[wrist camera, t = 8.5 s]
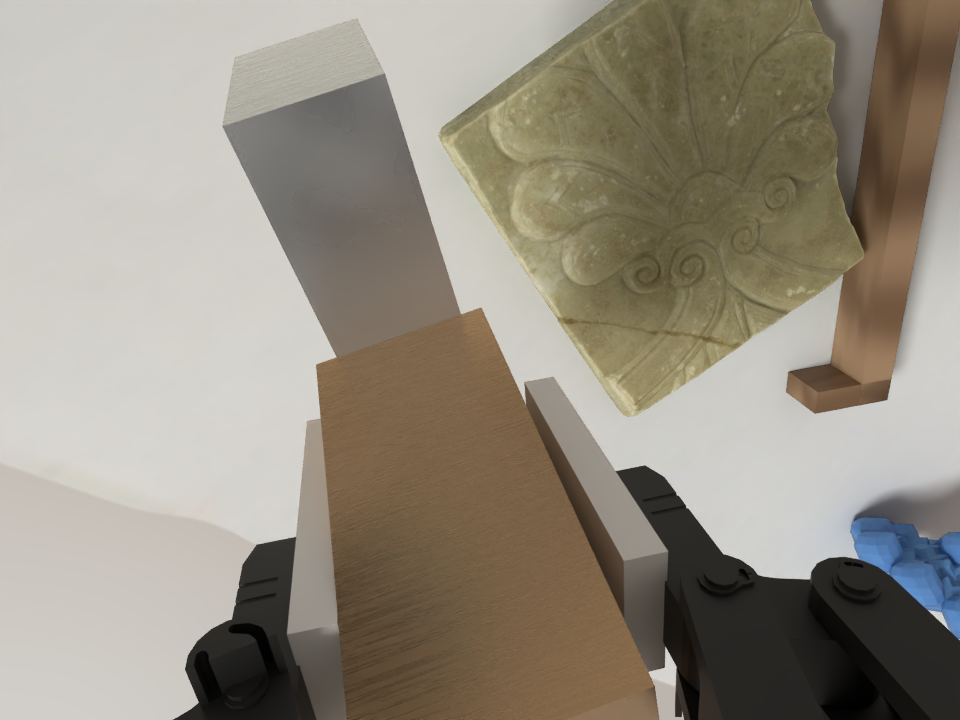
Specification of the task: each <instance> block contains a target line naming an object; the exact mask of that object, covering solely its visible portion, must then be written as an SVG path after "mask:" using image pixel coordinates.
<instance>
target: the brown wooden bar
mask: <svg viewBox="0 0 960 720" xmlns="http://www.w3.org/2000/svg"><path fill="white" fill-rule="evenodd" d="M959 26H960V0H884V3H883V10H882V17H881V23H880V30H879V37H878V44H877V51H876V57H875V64H874V71H873V78H872V85H871V91H870V98H869V105H868V112H867V119H866V125H865V132H864V139H863V146H862V153H861V159H860V166H859V173H858V180H857V187H856V193H855V200H854V207H853V214H852V221H851V224H852V226H853V227H854V229H855V232H856V234H857V236H858V238H859V241H860V244H861V246H862V248H863V251H864V258H863V259H862V260H861V261H859V262H858V263H857V264H855V265H854V266H853V267H852V268H850V269H849V270H848V271H846V272H845V273H844V275H843V282H842V289H841V296H840V302H839V309H838V316H837V323H836V330H835V336H834V343H833V350H832V357H831V364H829V365H824V366H818V367H813V368H807V369H802V370H796V371H791V372H788V381H787V389H786V392H787V393H788V394H790V395H791V396H792V397H794V398H795V399H796V400H798V401H799V402H800V403H802V404H803V405H804V406H805V407H807V408H808V409H809V410H811V411H812V412H813V413H815V414H816V413H821V412H826V411H832V410H837V409H842V408H847V407H853V406H858V405H863V404H868V403H874V402H879V401H884V400H887V399H888V393H889V388H890V383H891V378H892V373H893V368H894V362H895V357H896V352H897V347H898V342H899V336H900V331H901V326H902V321H903V316H904V311H905V305H906V300H907V295H908V290H909V285H910V279H911V274H912V269H913V264H914V259H915V254H916V248H917V243H918V238H919V233H920V228H921V222H922V217H923V212H924V207H925V202H926V197H927V191H928V186H929V181H930V176H931V171H932V165H933V160H934V155H935V150H936V145H937V140H938V134H939V129H940V124H941V119H942V114H943V108H944V103H945V98H946V93H947V88H948V83H949V77H950V72H951V67H952V62H953V57H954V51H955V46H956V41H957V36H958V31H959Z"/></svg>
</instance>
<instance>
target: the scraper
mask: <svg viewBox="0 0 960 720" xmlns="http://www.w3.org/2000/svg"><path fill="white" fill-rule="evenodd" d="M223 128H224V130H225V132H226V134H227V136H228V139H229V141H230V143H231V145H232V147H233V149H234V151H235V153H236V155H237V157H238V159H239V161H240V163H241V165H242V167H243V169H244V171H245V173H246V175H247V177H248V179H249V181H250V183H251V185H252V187H253V189H254V191H255V193H256V195H257V197H258V199H259V201H260V203H261V205H262V207H263V209H264V211H265V213H266V215H267V217H268V219H269V221H270V223H271V225H272V227H273V229H274V231H275V233H276V235H277V237H278V239H279V241H280V243H281V245H282V248H283V250H284V252H285V254H286V256H287V258H288V260H289V262H290V264H291V266H292V268H293V270H294V272H295V274H296V276H297V278H298V280H299V282H300V284H301V286H302V288H303V290H304V292H305V294H306V296H307V298H308V300H309V302H310V304H311V306H312V308H313V310H314V312H315V314H316V316H317V318H318V320H319V322H320V324H321V326H322V328H323V330H324V332H325V334H326V336H327V338H328V340H329V342H330V344H331V346H332V348H333V350H334V352H335V354H336V356H337V358H334V359H331V360H328V361H325V362H322V363H320V364H317V365H316V369H317V381H318V392H319V404H320V415H321V427H322V438H323V450H324V462H325V473H326V485H327V496H328V508H329V520H330V531H331V543H332V554H333V566H334V577H335V589H336V601H337V612H338V624H339V635H340V647H341V659H342V670H343V682H344V693H345V705H346V717H347V720H659V715H658V707H657V699H656V692H655V686H654V684H653V682H652V679H651V677H650V675H649V673H648V671H647V668H646V666H645V664H644V662H643V660H642V657H641V655H640V653H639V651H638V649H637V647H636V644H635V642H634V640H633V638H632V636H631V633H630V631H629V629H628V627H627V625H626V623H625V620H624V618H623V616H622V614H621V612H620V609H619V607H618V605H617V603H616V601H615V599H614V596H613V594H612V592H611V590H610V588H609V585H608V583H607V581H606V579H605V577H604V574H603V572H602V570H601V568H600V566H599V564H598V561H597V559H596V557H595V555H594V553H593V550H592V548H591V546H590V544H589V542H588V540H587V537H586V535H585V533H584V531H583V529H582V526H581V524H580V522H579V520H578V518H577V516H576V513H575V511H574V509H573V507H572V505H571V502H570V500H569V498H568V496H567V494H566V491H565V489H564V487H563V485H562V483H561V481H560V478H559V476H558V474H557V472H556V470H555V467H554V465H553V463H552V461H551V459H550V457H549V454H548V452H547V450H546V448H545V446H544V443H543V441H542V439H541V437H540V435H539V433H538V430H537V428H536V426H535V424H534V422H533V419H532V417H531V415H530V413H529V411H528V409H527V406H526V404H525V402H524V400H523V398H522V395H521V393H520V391H519V389H518V387H517V384H516V382H515V380H514V378H513V376H512V374H511V371H510V369H509V367H508V365H507V363H506V360H505V358H504V356H503V354H502V352H501V350H500V347H499V345H498V343H497V341H496V339H495V336H494V334H493V332H492V330H491V328H490V326H489V323H488V321H487V319H486V317H485V315H484V312H483V310H482V308H479V309H476V310H473V311H470V312H467V313H464V314H460V310H459V307H458V304H457V301H456V298H455V295H454V291H453V288H452V285H451V282H450V279H449V275H448V272H447V269H446V266H445V263H444V260H443V256H442V253H441V250H440V247H439V244H438V241H437V237H436V234H435V231H434V228H433V225H432V222H431V218H430V215H429V212H428V209H427V206H426V203H425V199H424V196H423V193H422V190H421V187H420V184H419V180H418V177H417V174H416V171H415V168H414V165H413V161H412V158H411V155H410V152H409V149H408V146H407V142H406V139H405V136H404V133H403V130H402V127H401V123H400V120H399V117H398V114H397V111H396V108H395V104H394V101H393V98H392V95H391V92H390V88H389V85H388V82H387V79H386V76H385V73H384V71H383V69H382V67H381V65H380V63H379V61H378V59H377V57H376V55H375V53H374V51H373V49H372V47H371V45H370V43H369V41H368V39H367V37H366V35H365V33H364V31H363V29H362V27H361V25H360V23H359V22H358V20H357V18H356V19H353V20H350V21H347V22H344V23H341V24H338V25H335V26H331V27H328V28H325V29H322V30H319V31H316V32H313V33H310V34H307V35H304V36H300V37H297V38H294V39H291V40H288V41H285V42H282V43H279V44H276V45H273V46H269V47H266V48H263V49H260V50H257V51H254V52H251V53H248V54H245V55H242V56H238V57H235V59H234V65H233V70H232V76H231V82H230V87H229V93H228V98H227V104H226V110H225V115H224V121H223Z"/></svg>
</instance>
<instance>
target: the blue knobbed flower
mask: <svg viewBox="0 0 960 720" xmlns="http://www.w3.org/2000/svg"><path fill="white" fill-rule="evenodd" d="M850 532H851V534H852V537H853V539H854V547H855V550H856V552H857V555H858V557H859V559H860V560H862V561H865V562H867V563H870V564H872V565H875V566H877V567H879V568H880V569H882V570H883V571H884V572H886V573H889V575H890V576H891V577H893V578H894V579H895V580H896V581H897V582H898V583H899V584H900V585H901V586H902V587H903V588H904V589H905V590H906V591H908V592H909V593H910V594H911V595H912V596H913V597H914V598H915V599H916V600H917V601H918V602H919V603H920V604H921V605H922V606H924V607H925V608H926V609H927V610H931V611H937V612H942V614H943V616H944V619H945V621H946V623H947V626H948V628H949V630H950V631H951V633H952V634H953V635H954V636H955V637H957V638H958V639H960V532H949V533H947V534H946V535H944V536H943V537H941V538H940V539H939V540H931V539H928V538H924V537H919V534H918V532H917V531H916V529H915V527H914V526H913V525H911V524H899V523H890V521H889V519H887V518H873V517H868V518H859V519H857V520H856V521H854V522H853V523H852V524H851V531H850Z"/></svg>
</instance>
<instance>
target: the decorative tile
mask: <svg viewBox="0 0 960 720" xmlns="http://www.w3.org/2000/svg"><path fill="white" fill-rule="evenodd" d="M834 58H835V42H834V41H833V40H832V39H831V38H829V37H828V36H827V35H826V34H825V33H824V32H823V30H822V28H821V26H820V23H819V19H818V18H817V16H816V14H815V12H814V10H813V7H812V3H811V1H810V0H614V1H613V2H612V3H610V4H609V5H608V6H606V7H605V8H604V9H602V10H601V11H600V12H598V13H597V14H595V15H594V16H593V17H591V18H590V19H589V20H587V21H586V22H585V23H583V24H582V25H581V26H579V27H578V28H577V29H575V30H574V31H573V32H571V33H570V34H568V35H567V36H566V37H564V38H563V39H562V40H560V41H559V42H558V43H556V44H555V45H553V46H552V47H551V48H549V49H548V50H547V51H545V52H544V53H542V54H541V55H540V56H538V57H537V58H535V59H534V60H533V61H531V62H530V63H529V64H527V65H526V66H524V67H523V68H522V69H520V70H519V71H518V72H516V73H515V74H514V75H512V76H511V77H510V78H508V79H507V80H506V81H504V82H503V83H502V84H500V85H499V86H498V87H496V88H495V89H494V90H492V91H491V92H490V93H488V94H487V95H486V96H484V97H483V98H482V99H480V100H479V101H478V102H476V103H475V104H474V105H472V106H471V107H469V108H468V109H467V110H465V111H464V112H463V113H461V114H460V115H458V116H457V117H456V118H454V119H453V120H452V121H450V122H449V123H447V124H446V125H445V126H443V127H442V128H441V131H440V133H439V138H440V140H441V142H442V144H443V146H444V148H445V149H446V151H447V153H448V154H449V156H450V158H451V159H452V161H453V162H454V164H455V165H456V167H457V168H458V170H459V172H460V173H461V175H462V176H463V178H464V179H465V181H466V182H467V184H468V185H469V187H470V188H471V190H472V191H473V193H474V194H475V196H476V197H477V199H478V200H479V202H480V203H481V205H482V206H483V208H484V209H485V211H486V212H487V214H488V215H489V217H490V218H491V220H492V221H493V223H494V224H495V226H496V227H497V229H498V230H499V232H500V233H501V235H502V236H503V238H504V240H505V241H506V243H507V244H508V246H509V247H510V249H511V250H512V252H513V253H514V255H515V256H516V258H517V259H518V261H519V262H520V264H521V265H522V267H523V268H524V270H525V271H526V273H527V274H528V276H529V277H530V279H531V280H532V282H533V283H534V285H535V286H536V288H537V289H538V291H539V292H540V294H541V295H542V296H543V298H544V299H545V301H546V303H547V304H548V306H549V307H550V308H551V310H552V311H553V313H554V314H555V316H556V317H557V319H558V321H559V323H560V324H561V326H562V327H563V329H564V330H565V332H566V333H567V335H568V336H569V338H570V339H571V340H572V342H573V343H574V345H575V346H576V348H577V349H578V351H579V352H580V354H581V355H582V357H583V358H584V360H585V361H586V363H587V364H588V365H589V367H590V368H591V370H592V371H593V373H594V374H595V376H596V377H597V379H598V380H599V381H600V383H601V384H602V386H603V387H604V389H605V390H606V392H607V393H608V395H609V396H610V398H611V399H612V400H613V402H614V403H615V405H616V406H617V408H618V409H619V410H620V411H621V412H622V414H623V415H625V416H628V417H629V416H635V415H638V414H639V413H640V412H642V411H644V410H646V409H647V408H649V407H651V406H652V405H654V404H655V403H657V402H658V401H659V400H661V399H662V398H664V397H665V396H667V395H668V394H670V393H671V392H673V391H675V390H676V389H678V388H679V387H681V386H683V385H684V384H686V383H688V382H689V381H691V380H693V379H694V378H696V377H697V376H699V375H700V374H701V373H703V372H704V371H706V370H707V369H708V368H710V367H711V366H712V365H714V364H715V363H717V362H718V361H719V360H721V359H722V358H724V357H725V356H726V355H728V354H730V353H731V352H733V351H734V350H736V349H737V348H738V347H740V346H741V345H742V344H744V343H745V342H746V341H748V340H749V339H750V338H752V337H753V336H755V335H757V334H758V333H760V332H761V331H763V330H764V329H766V328H767V327H769V326H771V325H772V324H774V323H775V322H777V321H778V320H780V319H781V318H782V317H784V316H785V315H787V314H788V313H789V312H791V311H792V310H794V309H795V308H797V307H798V306H800V305H801V304H803V303H805V302H806V301H808V300H809V299H811V298H812V297H814V296H815V295H817V294H818V293H820V292H821V291H823V290H824V289H826V288H827V287H828V286H830V285H831V284H832V283H834V282H835V281H836V280H837V279H838V278H839V277H840V276H841V275H842V274H843V273H845V272H846V271H848V270H849V269H850V268H852V267H853V266H854V265H855V264H857V263H858V262H859V261H861V260H862V259H863V258H864V251H863V248H862V246H861V244H860V241H859V238H858V236H857V234H856V232H855V229H854V227H853V226H852V224H851V222H850V220H849V217H848V215H847V213H846V210H845V204H844V201H843V198H842V194H841V191H840V190H839V185H838V178H837V175H836V170H837V161H838V158H837V147H838V137H837V133H836V131H835V129H834V127H833V124H832V121H831V119H830V116H829V114H828V112H827V108H828V105H829V102H830V99H831V96H832V94H833V93H834V91H835V89H834V84H833V70H834Z"/></svg>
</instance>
